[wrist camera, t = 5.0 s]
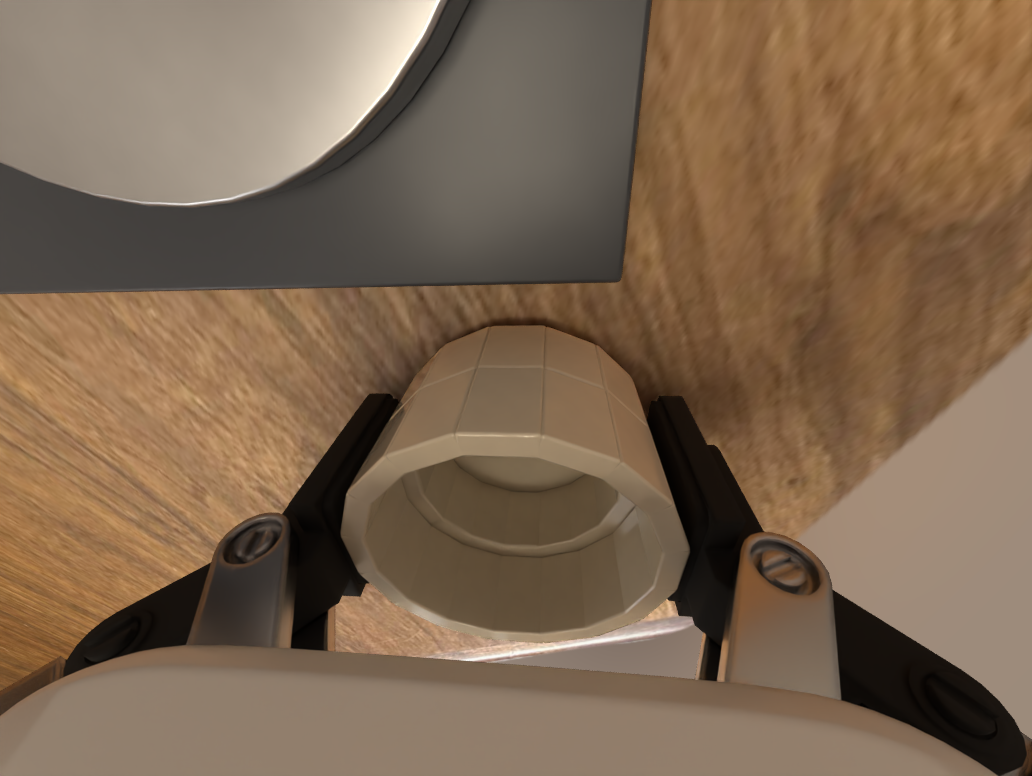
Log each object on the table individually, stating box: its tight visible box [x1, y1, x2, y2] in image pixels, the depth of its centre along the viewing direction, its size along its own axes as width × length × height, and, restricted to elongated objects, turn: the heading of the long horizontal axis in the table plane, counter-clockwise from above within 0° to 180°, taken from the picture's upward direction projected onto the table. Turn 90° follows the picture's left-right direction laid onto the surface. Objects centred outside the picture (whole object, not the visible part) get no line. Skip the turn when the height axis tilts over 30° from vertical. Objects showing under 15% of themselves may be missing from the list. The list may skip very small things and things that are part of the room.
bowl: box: [340, 325, 690, 643], centre depth 9 cm, size 7×7×5 cm
